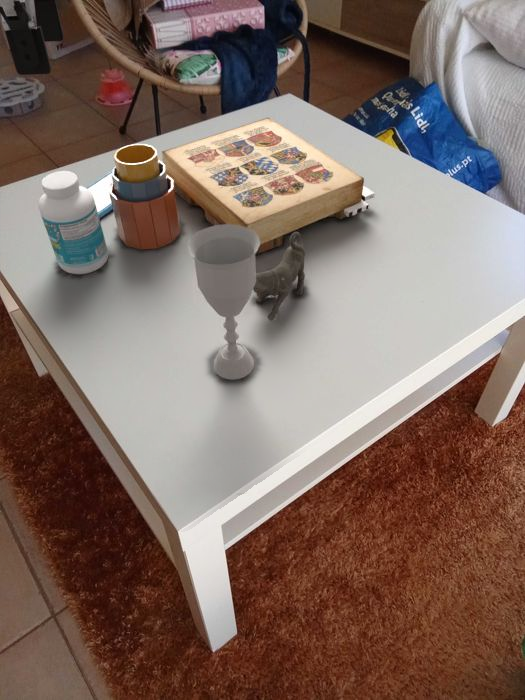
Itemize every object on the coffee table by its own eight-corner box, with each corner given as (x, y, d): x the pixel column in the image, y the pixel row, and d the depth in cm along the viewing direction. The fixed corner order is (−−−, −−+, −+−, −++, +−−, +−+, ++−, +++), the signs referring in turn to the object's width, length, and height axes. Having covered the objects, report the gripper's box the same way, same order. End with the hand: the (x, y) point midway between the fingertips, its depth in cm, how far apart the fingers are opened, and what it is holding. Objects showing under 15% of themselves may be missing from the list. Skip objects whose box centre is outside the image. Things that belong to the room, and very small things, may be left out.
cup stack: (118, 251, 86) (103, 189, 78) (122, 217, 92) (108, 156, 85) (180, 246, 86) (171, 184, 79) (179, 212, 93) (171, 152, 85)
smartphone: (55, 208, 93) (117, 167, 101) (57, 214, 94) (119, 173, 102) (87, 221, 90) (149, 178, 98) (89, 227, 91) (150, 184, 99)
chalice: (210, 391, 67) (194, 270, 54) (199, 350, 71) (182, 231, 58) (269, 377, 68) (268, 257, 55) (255, 339, 72) (250, 219, 59)
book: (380, 213, 92) (281, 146, 108) (386, 178, 88) (281, 113, 104) (255, 268, 83) (167, 185, 99) (254, 232, 78) (161, 151, 94)
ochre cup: (129, 238, 86) (112, 166, 78) (130, 216, 90) (115, 145, 82) (168, 235, 87) (156, 163, 78) (168, 213, 91) (157, 142, 82)
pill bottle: (57, 251, 86) (29, 170, 76) (106, 242, 88) (85, 161, 78) (60, 281, 81) (31, 198, 71) (112, 271, 83) (90, 188, 73)
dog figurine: (280, 266, 83) (280, 222, 77) (315, 278, 81) (318, 234, 75) (237, 314, 76) (234, 270, 70) (274, 329, 74) (274, 285, 68)
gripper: (-38, -175, 52) (20, 31, 64) (-99, -161, 40) (-14, 90, 52) (46, -176, 52) (87, 28, 65) (11, -162, 40) (70, 86, 52)
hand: (42, 55), depth 58 cm, fingers open, 9 cm apart
